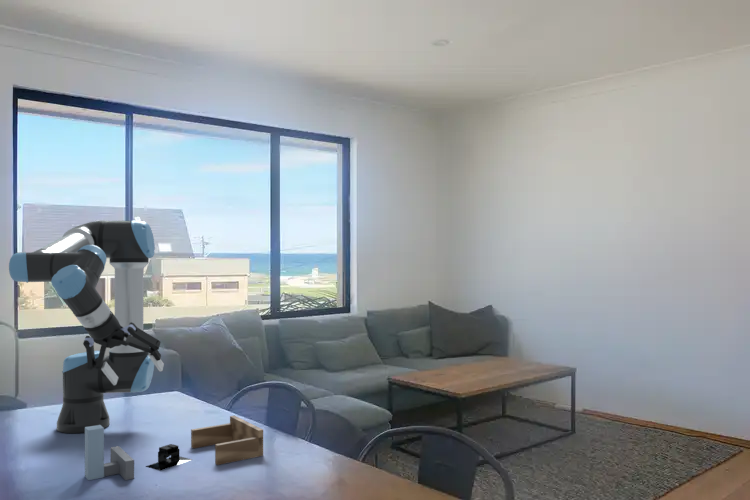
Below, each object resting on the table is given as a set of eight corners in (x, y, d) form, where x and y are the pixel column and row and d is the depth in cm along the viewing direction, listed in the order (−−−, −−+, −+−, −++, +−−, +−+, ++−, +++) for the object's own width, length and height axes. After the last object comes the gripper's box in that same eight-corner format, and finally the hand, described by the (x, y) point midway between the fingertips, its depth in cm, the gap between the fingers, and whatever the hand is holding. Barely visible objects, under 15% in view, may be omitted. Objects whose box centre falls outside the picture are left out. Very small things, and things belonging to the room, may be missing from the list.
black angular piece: (157, 475, 162) (157, 455, 162) (137, 470, 166) (137, 450, 166) (198, 460, 173) (198, 442, 173) (178, 455, 177) (178, 437, 177)
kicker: (80, 470, 164) (80, 422, 164) (118, 463, 169) (118, 417, 169) (93, 486, 153) (93, 435, 153) (134, 478, 158) (134, 428, 158)
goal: (191, 447, 183) (191, 422, 183) (234, 439, 191) (234, 415, 191) (217, 465, 168) (217, 437, 168) (263, 455, 176) (263, 429, 176)
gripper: (48, 342, 164) (93, 397, 176) (139, 314, 161) (179, 372, 173) (57, 323, 170) (100, 377, 182) (145, 295, 167) (183, 352, 179)
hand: (139, 374), depth 178 cm, fingers open, 13 cm apart
